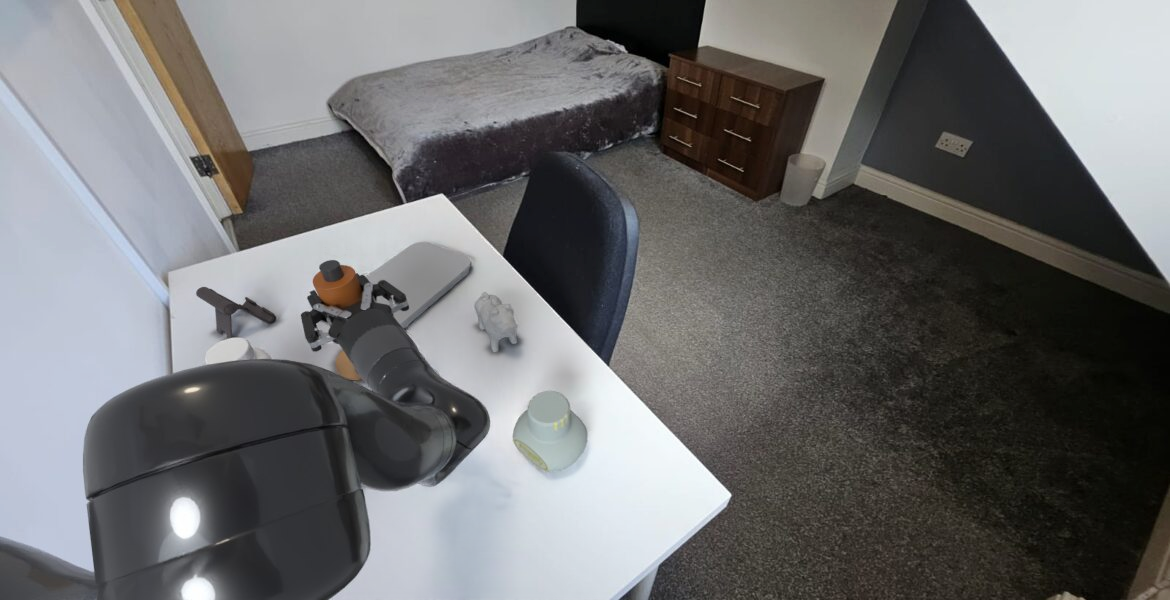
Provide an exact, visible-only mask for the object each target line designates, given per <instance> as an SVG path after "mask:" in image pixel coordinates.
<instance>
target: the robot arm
mask: <svg viewBox="0 0 1170 600" xmlns="http://www.w3.org/2000/svg"><path fill="white" fill-rule="evenodd" d="M356 275H357V278H358V280H359V283H360V286H361V288H362V291H363V292H362V301H359V302H356V303H355V304H353V305H351V306H348V307H344V308H342V309H338V308H336V307H334V306H329V307H328V306H326V305H324V304H323V302H322V300H321V299H320V298H319V296H318V294H317V291H316V289H313V290H311V291H309V294H310V295H307V297H306V300H307V301H308V303H309V305H310V307H311V310H310V311H309V310H306V311H303V312H301V313H300V319H301V323H302V328H303V334H304V338H305V340H306V341H307V344H308V345H309V348H310V349H311V351H312V352H314V353H316V352H320V351H321V350H322V348H323V345H325V344H328V343H331V342H333V343H335V344H336V345H339V346H340V348H341V349H342V350H343V351H344V352H345V354H346V355H347V357H348V358H349V360H350V362H351V363H352V365H353V366H354V369H355V371H356V372H357V374H358V375H359V376H360V377H361V378H362V379H363V380H362V381H363V382H364V383H365V384H366V385H367V386H368V387H369V388H367V387H365V386H363V385H361V384H359V383H357V382H354V381H353V380H349V379H346V378H344V377H342V376H341V375H340V374H339V373H338V374H337V373H336V372H334V371H332V370H329V369H327V368H324V367H321V366H318V365H315V364H311V363H306V362H303V361H302V362H301V361H296V360H289V359H282V358H280V359H279V358H272V359H253V360H238V361H228V362H221V363H215V364H208V365H207V364H203V365H199V366H196V367H192V368H186V369H183V370H179V371H176V372H173V373H169V374H166V375H162V376H159V377H155V378H153V379H150V380H147V381H144V382H142V383H139V384H136V385H134V386H133V387H130V388H128V389H126V390H124V391H122V392H120V393H119V394H116V395H115V396H113V397H112V398H110V399H109V400H107V401H106V402H105V403H104V404H102V405H101V406H100V407H98V409H97V410H96V411H95V412H94V413H93V414H92V416H91V417H90V419H89V421H88V424H87V425H86V426H87V427H86V429H85V433H84V438H83V449H82V474H83V486H84V495H85V499H86V501H88V502H87V503H86V513H87V520H88V529H89V538H90V548H91V556H92V563H93V571H92V570H89V569H86V568H83V567H81V566H78V565H76V564H73V563H71V562H69V561H67V560H65V559H62V558H61V557H58V556H56V555H54V554H52V553H50V552H47V551H45V550H42V549H40V548H38V547H35V546H31V545H29V544H26V543H24V542H23V543H22V542H20V541H17V540H13V539H10V538H7V537H4V536H0V600H330V599H332V598H333V597H335V596H336V595H338V594H339V593H340V592H341V591H342V590H344V589H345V588H347V586H348V585H349V584H350V583H351V582H352V581H354V580H355V579H356V577H357V576H358V575H359V573H360V572H361V571H362V569H363V568H364V566H365V564H366V563H367V561H368V559H369V557H370V552H371V546H372V540H371V539H372V538H371V527H370V525H371V523H370V517H369V514H368V513H369V512H368V511H369V510H368V507H367V501H366V496H365V491H364V489H363V487H364V488H367V489H369V490H373V491H378V492H387V493H388V492H398V491H402V490H406V489H410V488H412V487H414V486H416V485H420V486H423V487H425V488H434V487H436V486H438V485H439V484H441V483H443V481H445V480H446V479H447V478H448V477H449V476H450V475H451V474H452V473H453V472H454V471H455V470H456V469H457V467H459V466H460V465H461V464H462V463H463V462H464V461H465V460H466V458H467V457H469V455H470V454H471V453H472V452H473V451H474V450H475V449H476V448H477V447H478V446H479V445H480V444H481V443H482V442H483V441H484V439H486V437H487V436H488V435H489V432H490V429H491V417H490V414H489V411H488V409H487V407H486V406H485V405H484V404H483V402H481V400H480V399H478V398H477V397H476V396H474V395H472V394H471V393H469V392H467V391H466V390H464V389H462V388H460V387H458V386H456V385H454V384H452V383H451V382H449V380H446V379H445V378H443V376H441V375H440V374H439V373H438V372H437V371H436V370H435V369H434V368H433V367H432V366H431V365H430V363H429V362H428V360H426V358H425V357H424V355H423V354H422V352H421V351H420V350H419V348H418V346H417V344H416V343H415V342H414V339H413V338H411V336H410V335H409V333H407V331H406V330H405V328H404V329H403V328H402V326H401V325H400V324H399V323H398V321H397V320H396V319H395V318H394V317H393V313H395V312H397V311H398V310H401V311H407V310H409V305H408V302H407V298H406V295H405V294H404V293H403V292H401V291H400V290H398V289H397V288H395V287H394V286H393V285H391V284H390V283H388V282H387V281H386V280H381V281H379V282H378V284H372V283H370V281H369V280H368V279H367V278H366V275H365V274H359V272H357V273H356ZM378 296H383V297H384V298H385V299H386V300H388V301H389V302H390V305H387V304H381V303H377V297H378ZM319 323H322V324H325V325H327V326H329V329H328V332H324V331H323V330H322V329H320V328H318V325H317V324H319Z"/></svg>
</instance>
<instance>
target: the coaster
mask: <svg viewBox="0 0 1170 600" xmlns="http://www.w3.org/2000/svg"><path fill="white" fill-rule="evenodd" d="M335 370H336V372H337V373H338V375H340V376H342V377H344V378H346V379H348V380H350V381H363V379H362V378H361V377H360V376H359V375H358V374H357V372H356V371H355V369H354V366H353V365H352V363H351V362H350V360H349V358H348V357H347V355H346V354H345V352H344V351H343V349H342V350H341V351H340V352H339V353H338V354H337V356H336V359H335Z"/></svg>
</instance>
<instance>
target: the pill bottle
mask: <svg viewBox="0 0 1170 600" xmlns="http://www.w3.org/2000/svg"><path fill="white" fill-rule="evenodd" d="M253 359H273V358H272V357H271V355H270V354H269V352H267V351H266V350H264V349H261V348H259V347H253V346H252V345H251V343H250V341H248V340H247V339H246V338H242V337H232V338H229V339H227V338H225V339H223V340H221V341H218V342H216V343H215V344H213V345H212V346H211V347H210V348H209V349H208V350H207V351H206V353H205V355H204V362H205V363H206V365H208V364H215V363H221V362H228V361H238V360H253Z"/></svg>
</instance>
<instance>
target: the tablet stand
mask: <svg viewBox="0 0 1170 600" xmlns="http://www.w3.org/2000/svg"><path fill="white" fill-rule="evenodd" d="M195 295H196V296H197V298H199V299H200V300H202V301H204V302H205V303H207V304H209V305H210V306H212V307H213V308H214V311H215V325H216V332H217V334H219V335H223V331H224V332H225V334H226V339H229V338H233V321H232V320H233V319H232V315H234V314H235V313H236V312H237V311H239V310H241V311H243V312H245V313H247V314H248V315H250V316H252V317H254V318H256V319H257V320H260V321H261V322H263V323H265V324H267V325H273V324H275V323H276V321H277V319H278V318H277V317H278V316H276V314H274V312H272V311H271V310H270V309H268V308H266V307H264V306H260V305H259V304H258V303H257V302H256V301H254V300H252V299H250V298H249V297H247V296H245V297H244V300H245V302H244V303H243V304H240V303H237V302H235V301H233V300H231V299H229V298H227V297H226V296H225V295H222V294H220V293H218V292H217V291H215V289H212V288H209V287H207V286H201V287H199V288H198V289H197V290H196V292H195Z"/></svg>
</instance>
